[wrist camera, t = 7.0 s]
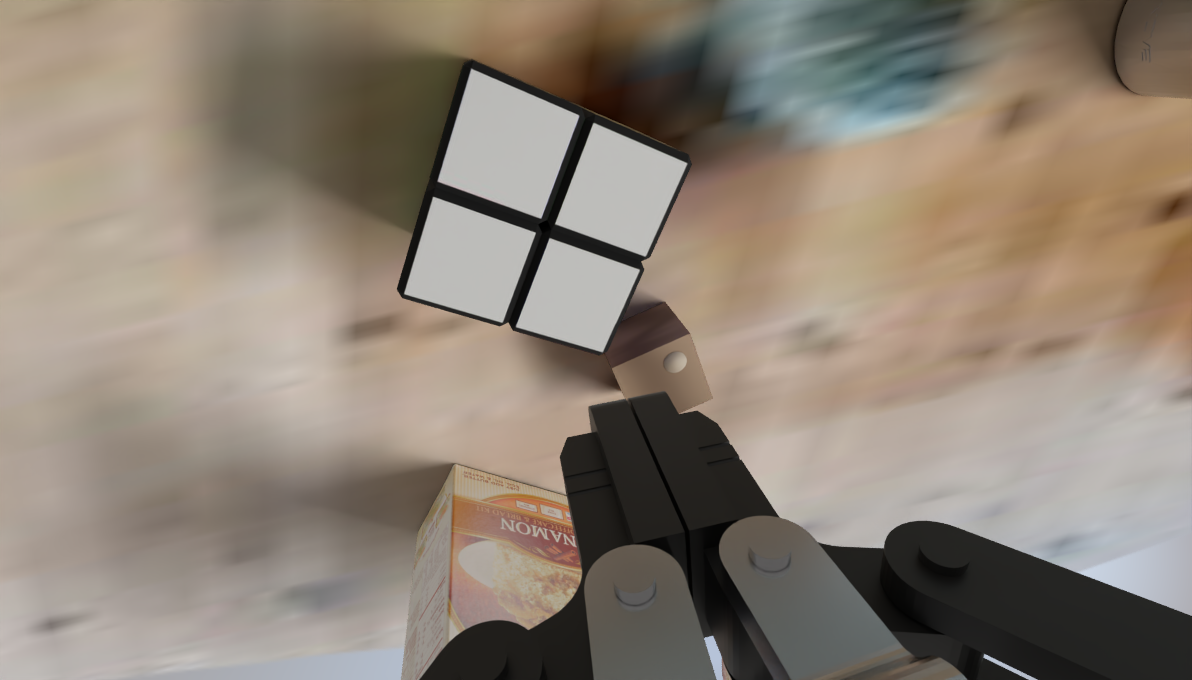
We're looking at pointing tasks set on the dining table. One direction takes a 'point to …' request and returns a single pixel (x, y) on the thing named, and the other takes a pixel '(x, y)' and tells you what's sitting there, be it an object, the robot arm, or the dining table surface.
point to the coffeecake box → (487, 561)
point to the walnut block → (658, 359)
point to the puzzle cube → (538, 212)
